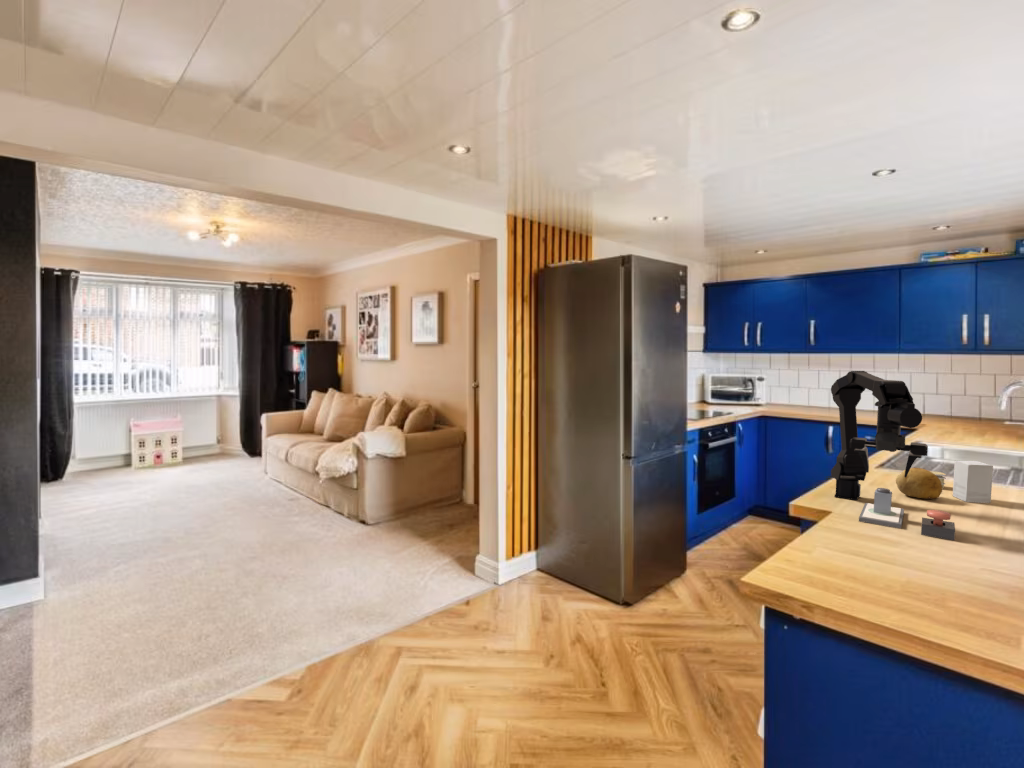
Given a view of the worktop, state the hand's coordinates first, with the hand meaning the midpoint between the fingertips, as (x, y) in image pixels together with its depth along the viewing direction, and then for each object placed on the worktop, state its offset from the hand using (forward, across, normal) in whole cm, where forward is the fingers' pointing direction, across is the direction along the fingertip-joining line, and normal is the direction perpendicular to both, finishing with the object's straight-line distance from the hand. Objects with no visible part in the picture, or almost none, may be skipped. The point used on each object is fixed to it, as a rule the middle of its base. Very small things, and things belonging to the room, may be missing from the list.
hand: (886, 474), depth 156 cm
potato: (+13, +7, +34) cm, 37 cm away
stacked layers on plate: (+14, +11, +53) cm, 56 cm away
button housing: (+13, +12, -8) cm, 20 cm away
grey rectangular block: (+12, 0, 0) cm, 12 cm away
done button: (+11, +13, -8) cm, 18 cm away
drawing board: (+13, -1, 0) cm, 13 cm away
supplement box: (+13, +21, +40) cm, 48 cm away
